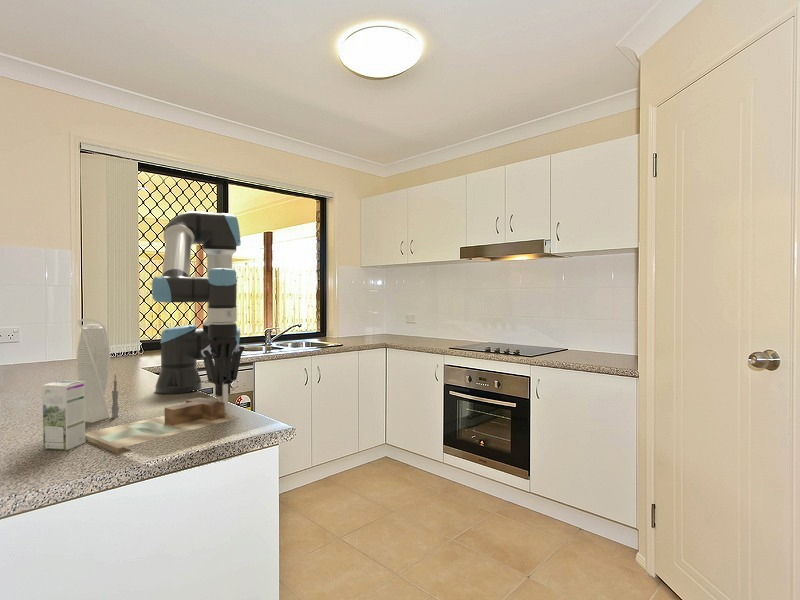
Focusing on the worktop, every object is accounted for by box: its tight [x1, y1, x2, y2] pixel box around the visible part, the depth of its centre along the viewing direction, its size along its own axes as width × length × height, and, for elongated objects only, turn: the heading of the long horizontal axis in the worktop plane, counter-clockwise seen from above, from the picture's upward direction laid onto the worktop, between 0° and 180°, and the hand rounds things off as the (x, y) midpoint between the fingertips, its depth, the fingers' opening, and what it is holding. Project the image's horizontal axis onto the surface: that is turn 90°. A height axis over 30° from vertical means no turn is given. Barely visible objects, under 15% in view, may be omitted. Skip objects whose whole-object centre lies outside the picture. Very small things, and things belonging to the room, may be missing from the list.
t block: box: [164, 396, 226, 426], centre depth 121 cm, size 12×12×4 cm
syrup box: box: [42, 380, 87, 451], centre depth 102 cm, size 6×6×14 cm
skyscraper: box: [75, 318, 120, 424], centre depth 121 cm, size 8×8×28 cm
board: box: [85, 414, 239, 455], centre depth 115 cm, size 30×19×1 cm, turn 145°
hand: (222, 406), depth 129 cm, fingers closed
